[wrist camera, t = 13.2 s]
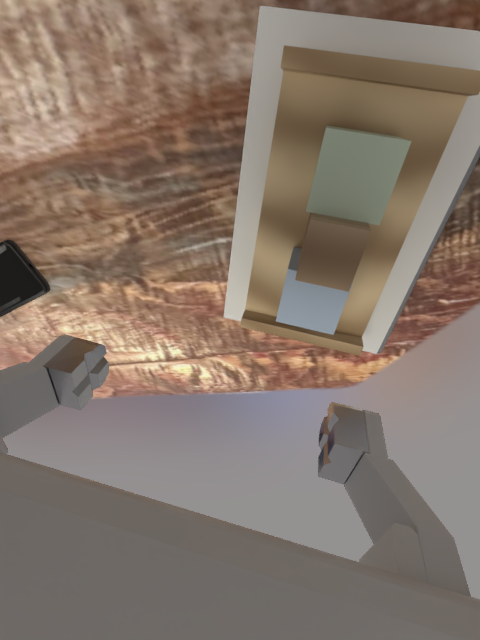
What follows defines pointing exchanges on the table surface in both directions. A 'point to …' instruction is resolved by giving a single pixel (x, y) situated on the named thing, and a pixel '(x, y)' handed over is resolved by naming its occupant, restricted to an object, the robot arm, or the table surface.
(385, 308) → the block
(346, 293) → the blue-grey cube
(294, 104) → the tan tray
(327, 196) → the pale green cube
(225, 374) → the table surface
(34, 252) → the table surface
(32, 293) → the phone
